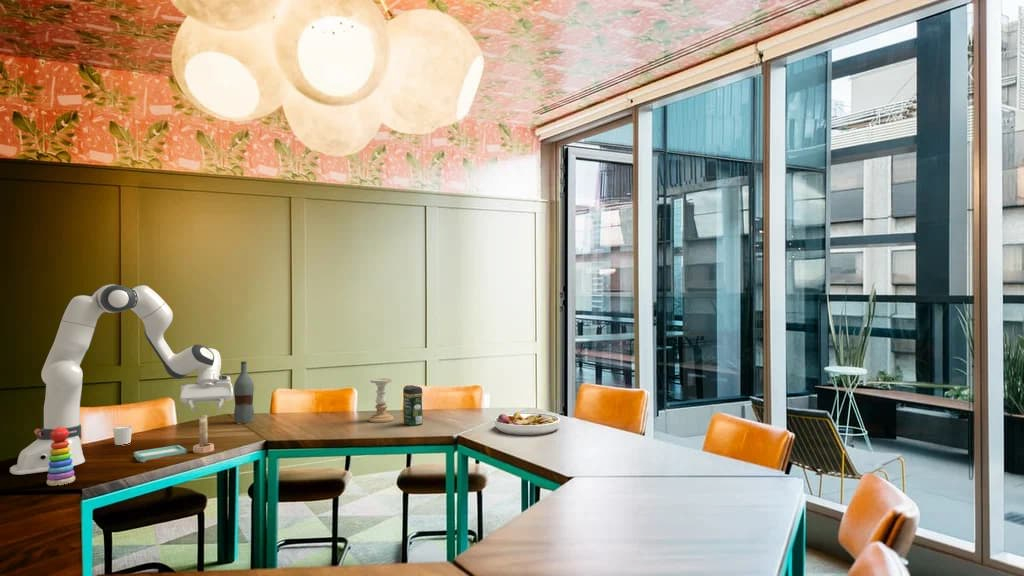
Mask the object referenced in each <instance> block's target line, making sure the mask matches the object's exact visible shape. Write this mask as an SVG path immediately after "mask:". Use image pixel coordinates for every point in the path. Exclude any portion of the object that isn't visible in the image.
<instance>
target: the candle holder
mask: <svg viewBox="0 0 1024 576" xmlns="http://www.w3.org/2000/svg"><path fill="white" fill-rule="evenodd" d="M392 382H393V380H392V378H373V379H370V383H371V384H375V386H376V387H377V390H376V391H375V392H376V394H377V395H376V399H375V403H376V405H375V406H374V409H376V413H375V414H373V415H372V416H370V417H369V418H368V422H369V423H375V424H376V423H378V424H381V423H382V424H384V423H389V422H393V421H394V420H395V418H394V416H393V415H391V414H389V413H387V408H388V405H387V402H388V400H387V397H386V393H387V390H386V389H385V387H386V386H387V384H389V383H392Z"/></svg>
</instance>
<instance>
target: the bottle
mask: <svg viewBox="0 0 1024 576" xmlns="http://www.w3.org/2000/svg"><path fill="white" fill-rule="evenodd" d="M247 371H248V370H247V361H240V374H239V375H238V377H237V378H236V379H235V382H234V385H233V397H234V409H233V411H234V412H233V418H234V423H235V424H236V423H248V424H250V423H249V422H252V423H253V422H254V418H255V411H254V410H255V409H254V392H255V391H254V390H255V388H254V380H253V379H252V378H251V376H250V375H249V373H248V372H247Z"/></svg>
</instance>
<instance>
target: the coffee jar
mask: <svg viewBox="0 0 1024 576" xmlns="http://www.w3.org/2000/svg"><path fill="white" fill-rule="evenodd" d="M402 393H403V394H402V395H403V424H405V425H407V426H417V427H418V426H420V425H423V424H424V423H423V422H424V420H423V418H424V417H423V388H422V387H421V386H417V385H414V384H410V385H409V384H408V385H405V386H404V387H403V390H402Z"/></svg>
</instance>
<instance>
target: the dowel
mask: <svg viewBox="0 0 1024 576" xmlns="http://www.w3.org/2000/svg"><path fill="white" fill-rule="evenodd" d="M207 443H208V415H207V414H202V415H199V444H200V447H205V446H207Z"/></svg>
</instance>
